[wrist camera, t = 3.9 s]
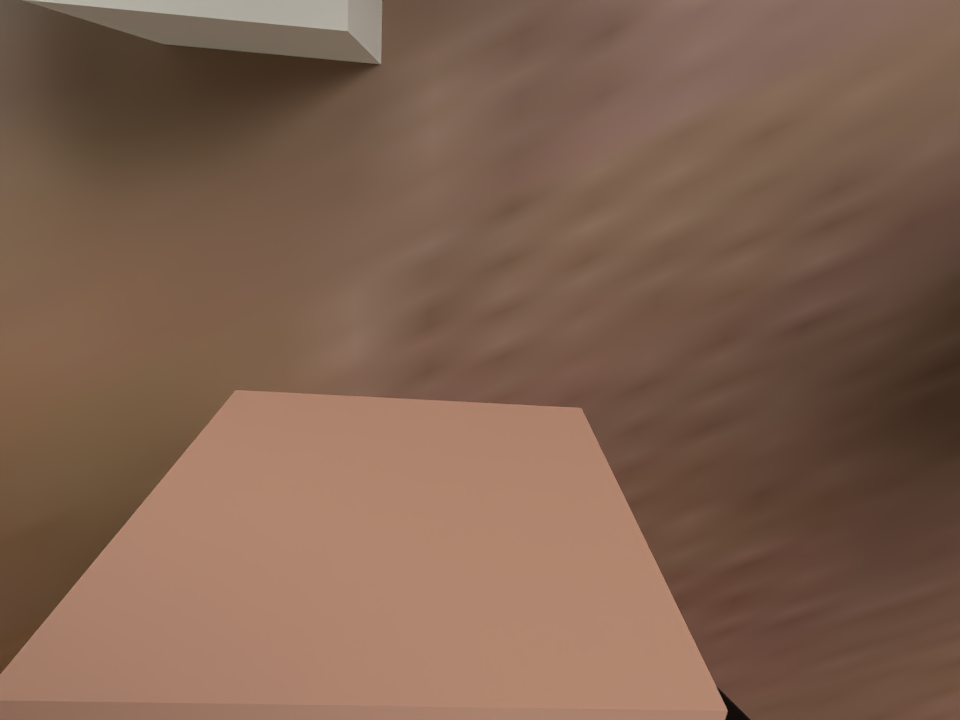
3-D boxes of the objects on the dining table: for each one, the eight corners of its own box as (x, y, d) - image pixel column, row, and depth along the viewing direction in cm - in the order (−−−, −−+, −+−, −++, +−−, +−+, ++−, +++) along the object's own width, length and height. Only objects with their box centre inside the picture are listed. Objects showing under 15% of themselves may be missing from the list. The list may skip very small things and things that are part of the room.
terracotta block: (580, 407, 9) (727, 709, 4) (542, 662, 11) (615, 1075, 6) (236, 390, 9) (-21, 701, 4) (254, 657, 10) (91, 1094, 6)
